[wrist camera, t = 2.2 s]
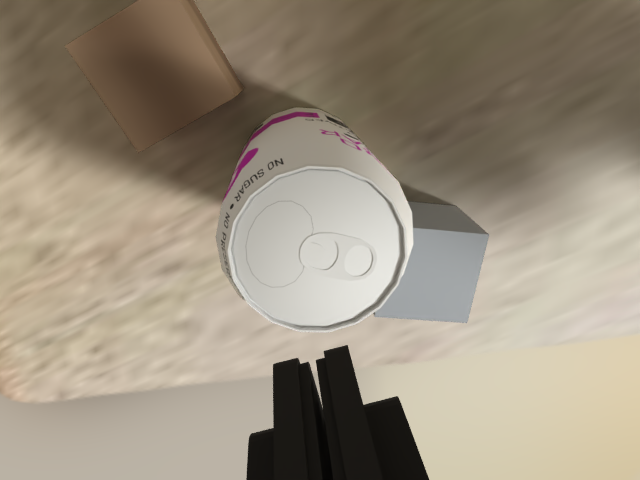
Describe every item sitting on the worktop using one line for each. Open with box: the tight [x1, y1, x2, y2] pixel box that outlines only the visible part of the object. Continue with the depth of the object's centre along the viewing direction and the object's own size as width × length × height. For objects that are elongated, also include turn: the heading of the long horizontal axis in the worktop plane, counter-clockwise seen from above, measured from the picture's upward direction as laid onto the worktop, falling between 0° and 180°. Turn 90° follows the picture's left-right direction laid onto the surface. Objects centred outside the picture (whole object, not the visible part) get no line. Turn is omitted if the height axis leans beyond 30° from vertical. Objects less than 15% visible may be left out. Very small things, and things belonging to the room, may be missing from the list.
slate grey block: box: [373, 201, 489, 323], centre depth 33 cm, size 6×6×6 cm
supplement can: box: [216, 107, 413, 332], centre depth 26 cm, size 8×8×15 cm
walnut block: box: [65, 0, 244, 153], centre depth 28 cm, size 6×6×6 cm
